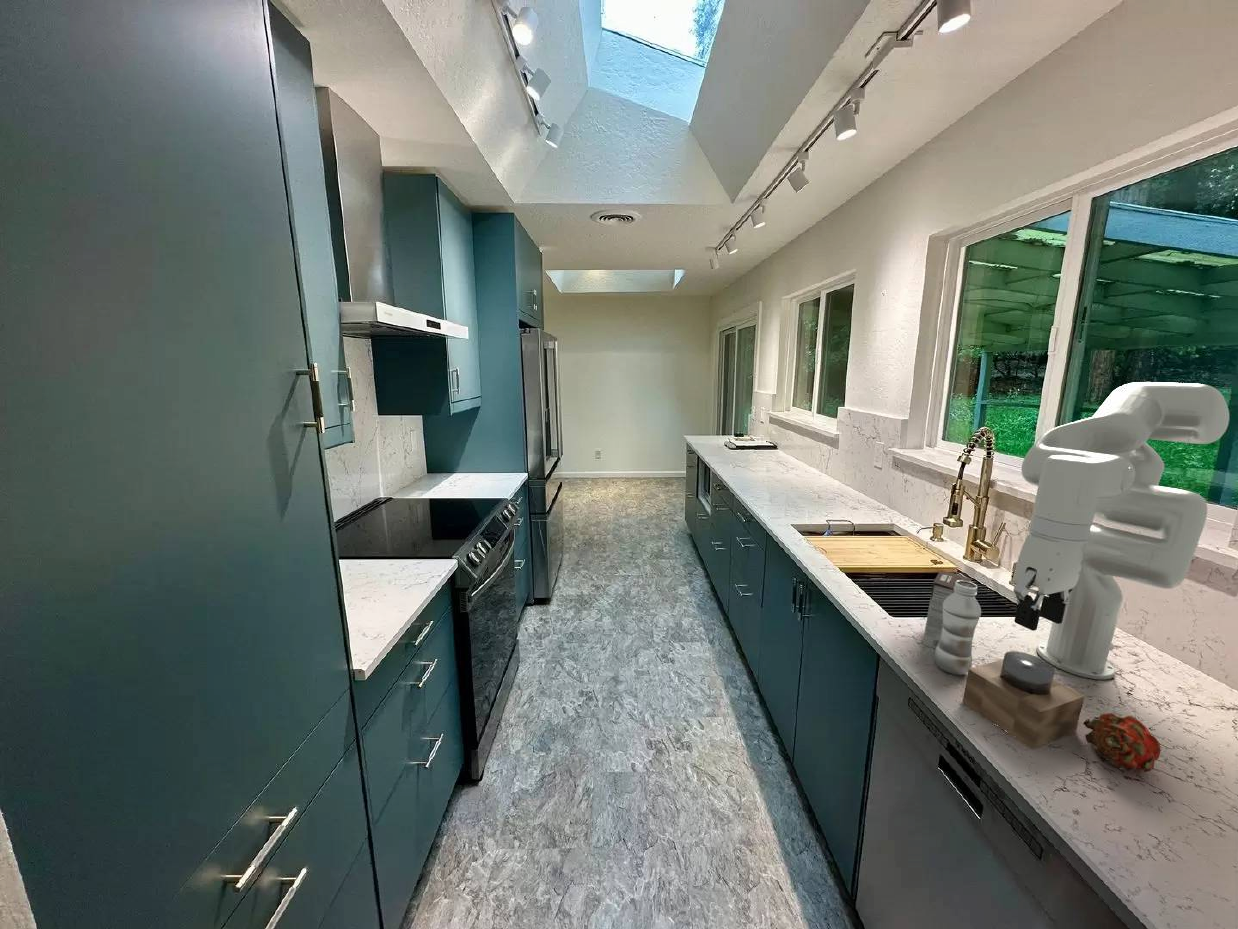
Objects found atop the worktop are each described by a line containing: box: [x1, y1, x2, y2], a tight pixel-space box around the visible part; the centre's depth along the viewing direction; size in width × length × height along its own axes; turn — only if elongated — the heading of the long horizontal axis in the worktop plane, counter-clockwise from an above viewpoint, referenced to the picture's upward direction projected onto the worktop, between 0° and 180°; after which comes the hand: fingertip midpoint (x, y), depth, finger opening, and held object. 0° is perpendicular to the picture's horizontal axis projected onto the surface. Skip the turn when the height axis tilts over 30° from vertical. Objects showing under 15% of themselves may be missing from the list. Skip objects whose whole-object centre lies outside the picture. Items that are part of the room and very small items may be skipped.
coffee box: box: [922, 570, 973, 650], centre depth 110 cm, size 9×6×16 cm
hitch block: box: [961, 658, 1085, 750], centre depth 88 cm, size 12×12×7 cm
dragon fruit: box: [1082, 712, 1162, 773], centre depth 78 cm, size 8×8×12 cm
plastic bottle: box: [933, 580, 982, 676], centre depth 100 cm, size 6×7×20 cm
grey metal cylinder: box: [1001, 650, 1056, 695], centre depth 87 cm, size 7×7×11 cm
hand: (1037, 622), depth 84 cm, fingers open, 6 cm apart
